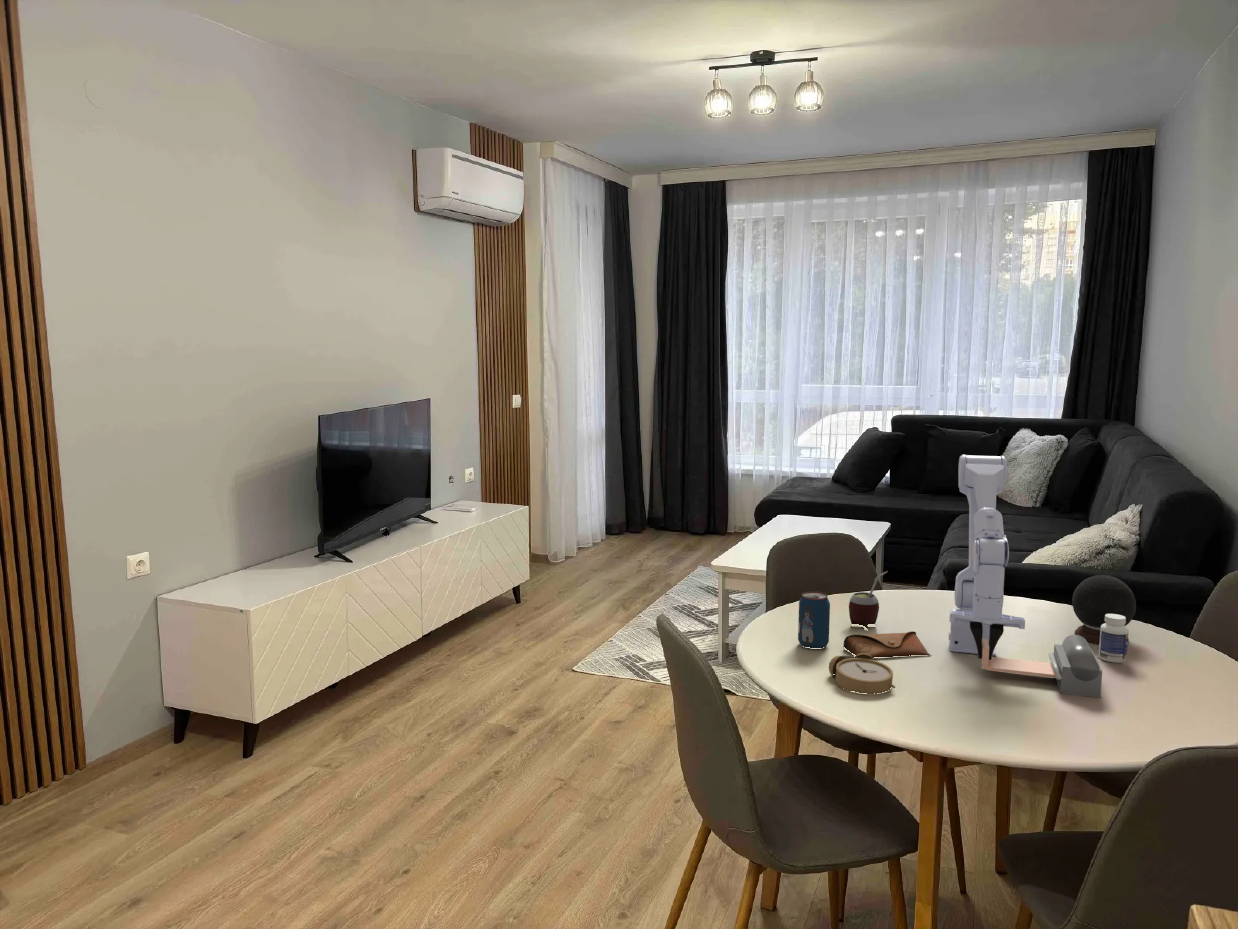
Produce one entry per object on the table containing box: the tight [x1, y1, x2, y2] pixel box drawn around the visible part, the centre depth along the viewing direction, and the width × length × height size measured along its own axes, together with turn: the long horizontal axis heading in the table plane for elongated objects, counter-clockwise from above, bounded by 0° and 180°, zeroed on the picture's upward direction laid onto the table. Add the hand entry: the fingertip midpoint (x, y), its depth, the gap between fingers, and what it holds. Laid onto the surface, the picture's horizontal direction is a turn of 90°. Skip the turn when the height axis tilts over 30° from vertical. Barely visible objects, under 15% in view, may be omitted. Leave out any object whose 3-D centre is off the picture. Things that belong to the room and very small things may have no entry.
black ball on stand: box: [1071, 574, 1137, 646], centre depth 209 cm, size 13×13×15 cm
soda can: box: [797, 591, 831, 648], centre depth 205 cm, size 7×7×12 cm
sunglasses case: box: [843, 630, 931, 658], centre depth 201 cm, size 18×7×7 cm, turn 102°
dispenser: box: [1048, 634, 1103, 699], centre depth 182 cm, size 8×14×8 cm, turn 160°
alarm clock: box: [828, 653, 896, 694], centre depth 184 cm, size 11×5×15 cm
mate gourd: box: [848, 570, 888, 628], centre depth 218 cm, size 8×8×15 cm
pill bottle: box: [1098, 614, 1129, 664], centre depth 196 cm, size 5×5×10 cm
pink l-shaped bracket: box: [980, 638, 1056, 679], centre depth 186 cm, size 14×7×5 cm, turn 70°
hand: (984, 657), depth 188 cm, fingers closed on pink l-shaped bracket
